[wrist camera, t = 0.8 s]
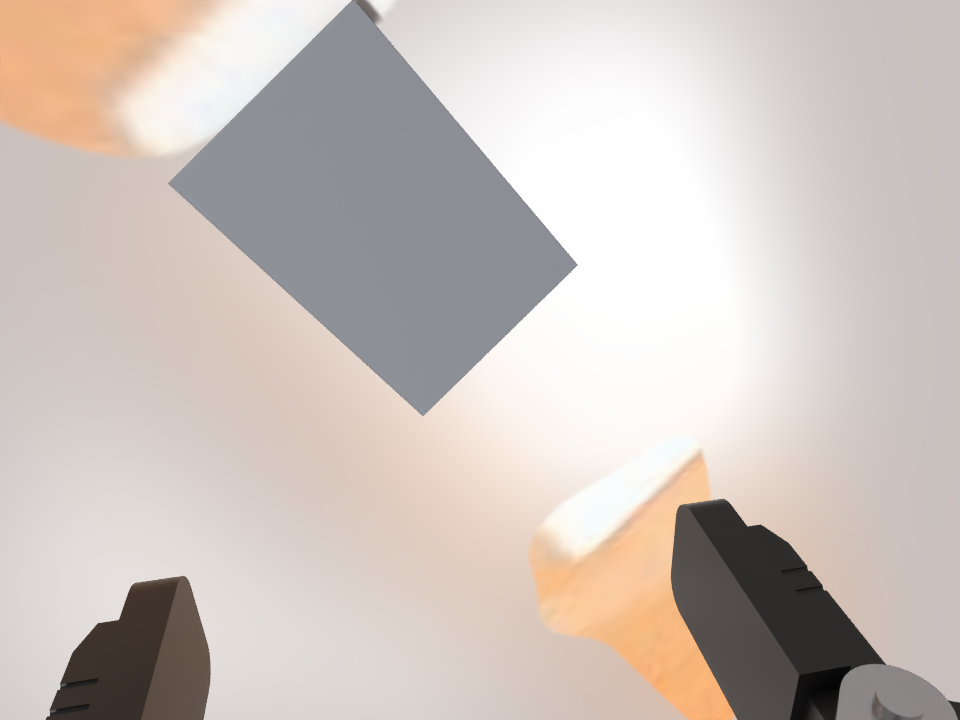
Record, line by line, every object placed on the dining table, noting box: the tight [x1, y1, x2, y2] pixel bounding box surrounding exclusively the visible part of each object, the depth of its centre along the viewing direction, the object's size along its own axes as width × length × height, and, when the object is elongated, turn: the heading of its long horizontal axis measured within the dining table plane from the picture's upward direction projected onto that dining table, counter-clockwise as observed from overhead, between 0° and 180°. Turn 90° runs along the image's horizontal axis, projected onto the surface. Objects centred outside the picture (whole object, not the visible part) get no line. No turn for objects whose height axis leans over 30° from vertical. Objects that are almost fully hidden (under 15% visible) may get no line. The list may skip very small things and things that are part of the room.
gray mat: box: [168, 0, 577, 416], centre depth 35 cm, size 16×11×1 cm
